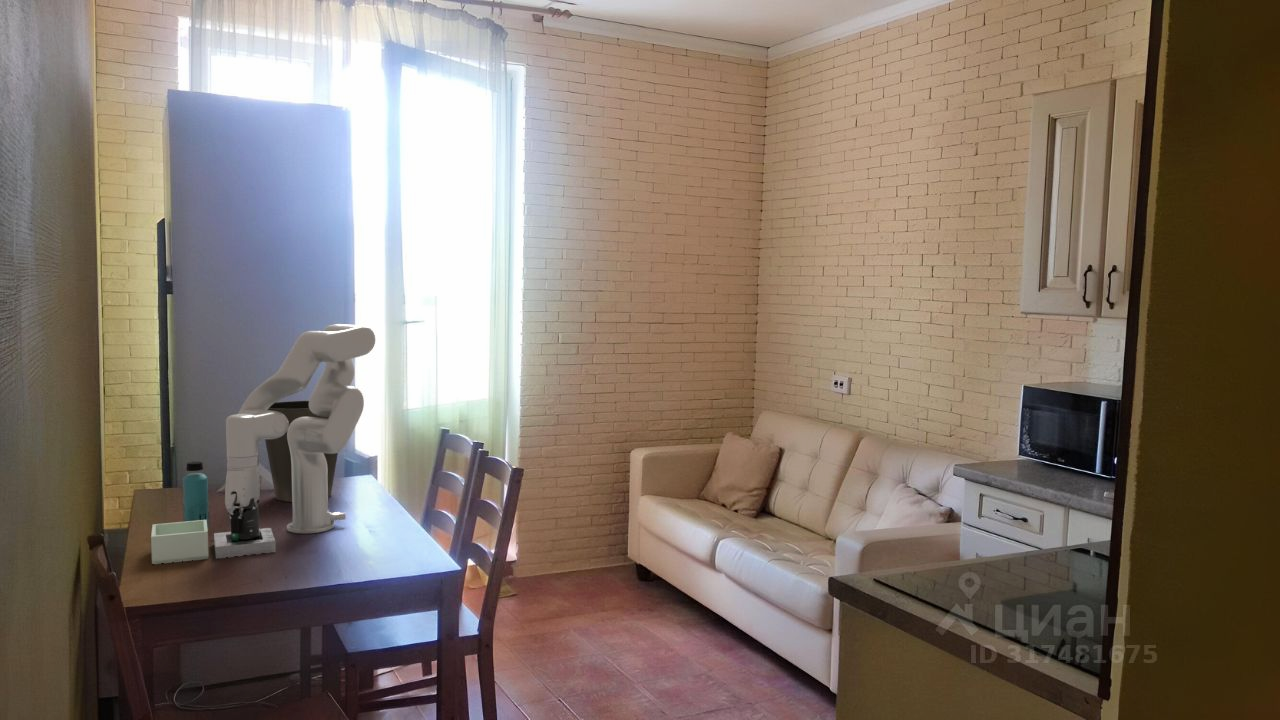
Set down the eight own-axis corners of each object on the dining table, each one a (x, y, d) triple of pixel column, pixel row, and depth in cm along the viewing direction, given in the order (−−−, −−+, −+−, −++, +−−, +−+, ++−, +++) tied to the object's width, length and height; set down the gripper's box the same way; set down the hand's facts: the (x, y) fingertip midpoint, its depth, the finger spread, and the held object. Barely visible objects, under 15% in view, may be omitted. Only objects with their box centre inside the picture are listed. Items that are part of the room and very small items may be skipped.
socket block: (270, 538, 257) (270, 527, 257) (275, 552, 244) (275, 541, 244) (214, 544, 251) (214, 533, 250) (216, 558, 238) (215, 547, 238)
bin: (207, 545, 249) (206, 519, 249) (208, 558, 238) (207, 531, 237) (153, 551, 244) (152, 524, 243) (152, 564, 233) (151, 536, 232)
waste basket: (338, 486, 322) (337, 398, 319) (356, 498, 305) (354, 405, 302) (254, 494, 307) (252, 402, 305) (267, 508, 290) (265, 410, 288)
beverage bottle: (199, 537, 257) (197, 464, 255) (178, 536, 258) (176, 463, 256) (215, 531, 263) (213, 460, 261) (194, 530, 264) (192, 459, 263)
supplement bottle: (234, 548, 243) (233, 502, 242) (228, 542, 248) (227, 496, 247) (262, 544, 247) (261, 498, 246) (256, 538, 252) (255, 493, 251)
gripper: (245, 455, 255) (247, 520, 256) (211, 468, 237) (213, 538, 239) (272, 455, 254) (274, 521, 256) (240, 469, 237) (242, 539, 238)
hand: (244, 528), depth 247 cm, fingers closed on supplement bottle, 6 cm apart
